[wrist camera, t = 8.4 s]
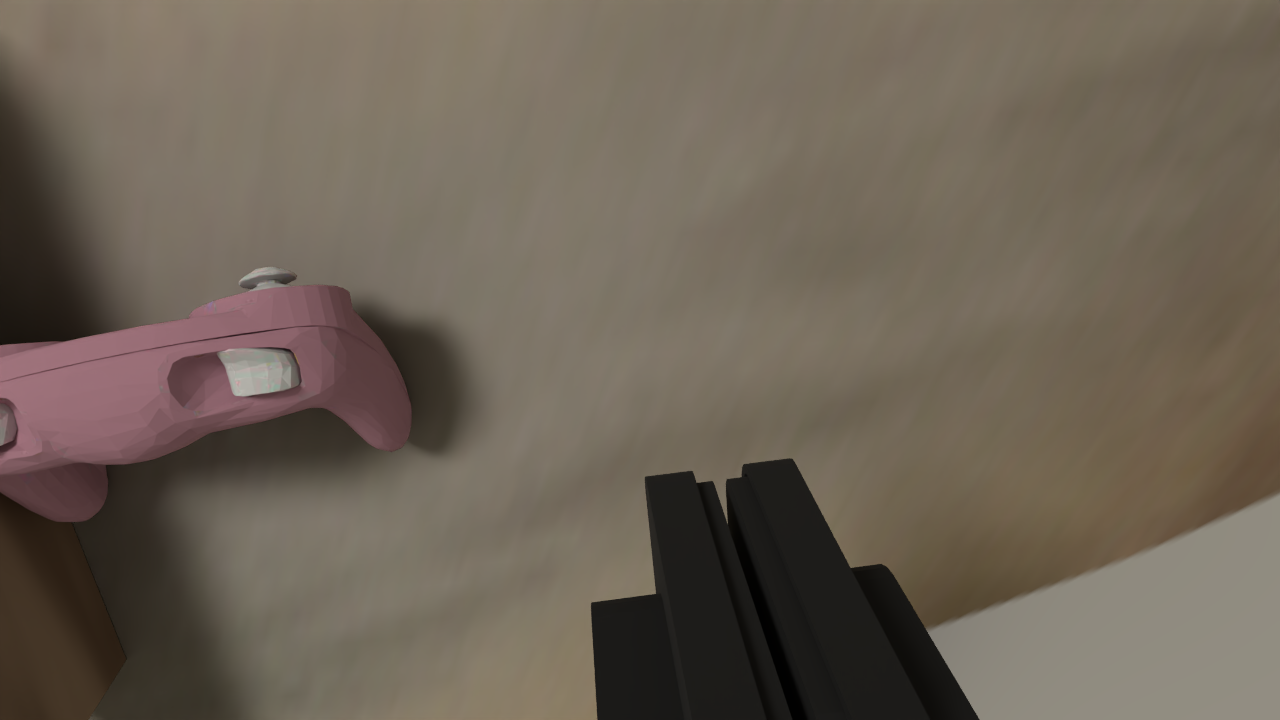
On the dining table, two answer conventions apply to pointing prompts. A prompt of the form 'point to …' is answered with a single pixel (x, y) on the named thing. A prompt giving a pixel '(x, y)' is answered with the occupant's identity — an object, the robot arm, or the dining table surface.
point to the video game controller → (188, 388)
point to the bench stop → (50, 622)
